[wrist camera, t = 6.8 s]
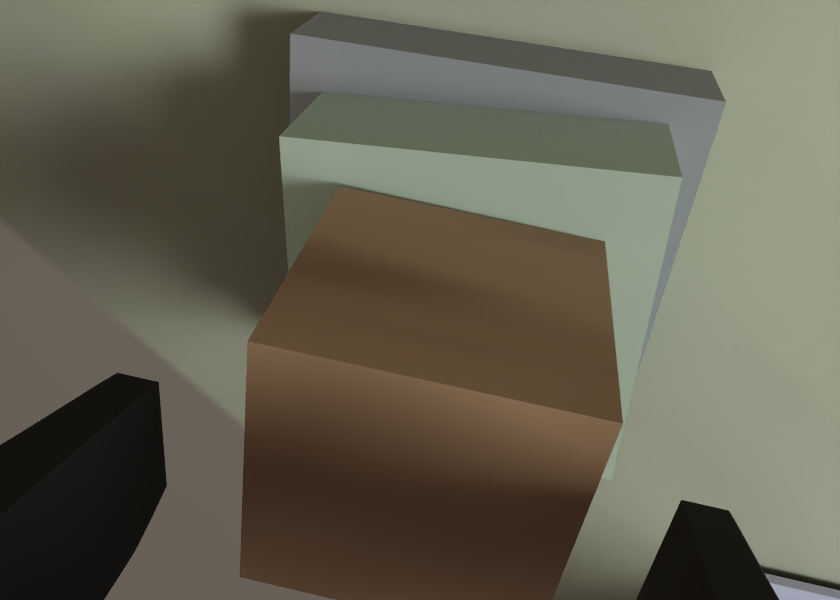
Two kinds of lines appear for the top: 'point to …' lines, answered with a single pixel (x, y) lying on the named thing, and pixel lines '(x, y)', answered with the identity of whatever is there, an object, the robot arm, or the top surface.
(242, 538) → the walnut cube
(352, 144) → the top tile
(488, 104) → the base tile
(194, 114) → the top surface
